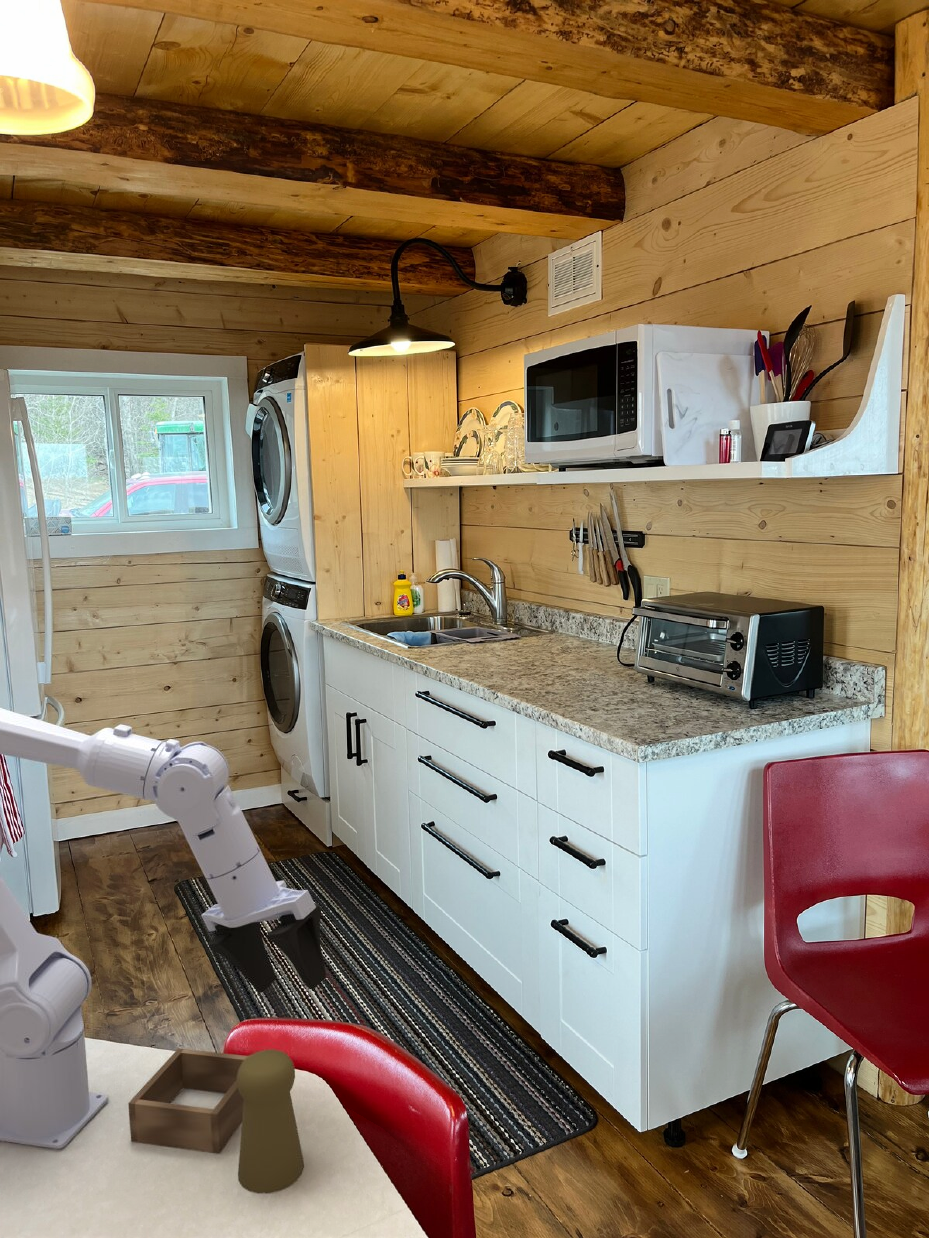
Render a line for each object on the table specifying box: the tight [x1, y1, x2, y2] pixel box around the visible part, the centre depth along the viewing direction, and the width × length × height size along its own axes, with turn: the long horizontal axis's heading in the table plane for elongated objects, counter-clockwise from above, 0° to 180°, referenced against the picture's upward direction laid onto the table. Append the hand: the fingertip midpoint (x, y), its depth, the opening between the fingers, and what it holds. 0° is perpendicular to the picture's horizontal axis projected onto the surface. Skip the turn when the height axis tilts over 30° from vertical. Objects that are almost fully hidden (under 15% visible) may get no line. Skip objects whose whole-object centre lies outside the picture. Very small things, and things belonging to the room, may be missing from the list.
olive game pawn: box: [237, 1049, 305, 1194], centre depth 86 cm, size 6×6×11 cm
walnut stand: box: [127, 1047, 249, 1154], centre depth 94 cm, size 9×9×4 cm
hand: (292, 984), depth 93 cm, fingers open, 7 cm apart
